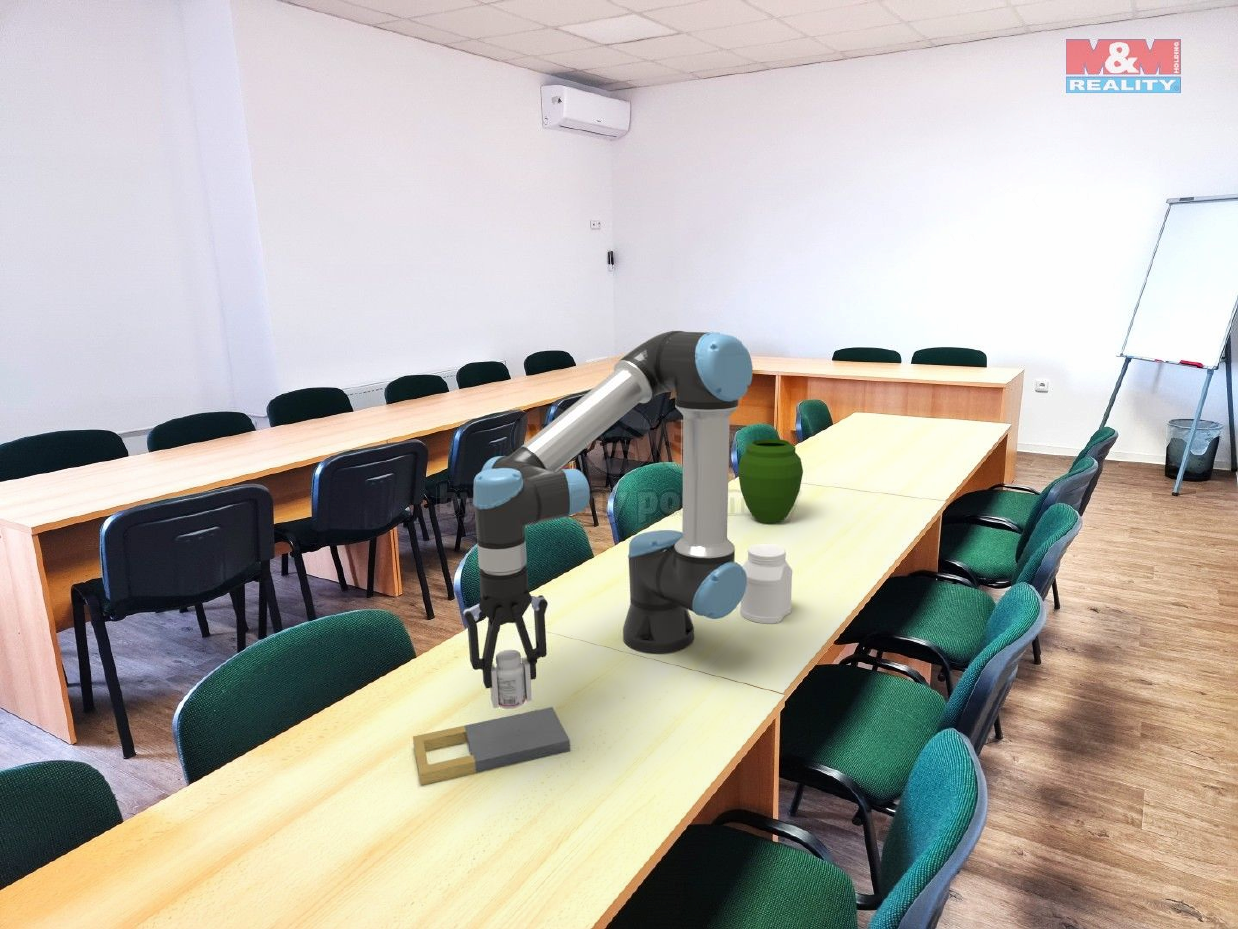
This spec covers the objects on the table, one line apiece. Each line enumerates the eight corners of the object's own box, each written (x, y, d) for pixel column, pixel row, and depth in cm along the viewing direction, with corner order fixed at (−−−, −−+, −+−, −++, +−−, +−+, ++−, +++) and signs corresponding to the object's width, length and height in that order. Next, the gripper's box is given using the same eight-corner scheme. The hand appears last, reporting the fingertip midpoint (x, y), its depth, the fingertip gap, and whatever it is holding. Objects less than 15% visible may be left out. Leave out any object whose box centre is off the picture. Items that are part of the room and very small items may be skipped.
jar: (774, 627, 173) (775, 562, 169) (734, 617, 178) (735, 554, 175) (795, 608, 182) (797, 546, 178) (757, 599, 187) (758, 539, 184)
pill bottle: (511, 691, 134) (509, 645, 132) (531, 700, 131) (529, 653, 129) (490, 703, 131) (487, 656, 129) (510, 712, 128) (507, 664, 126)
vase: (765, 506, 259) (766, 433, 253) (815, 519, 244) (817, 442, 238) (724, 519, 247) (724, 443, 241) (773, 534, 232) (775, 453, 226)
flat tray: (552, 717, 141) (552, 706, 140) (570, 751, 131) (569, 740, 130) (413, 747, 133) (412, 736, 132) (420, 785, 123) (419, 774, 122)
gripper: (551, 551, 132) (557, 679, 137) (442, 567, 126) (453, 700, 132) (563, 566, 125) (569, 700, 130) (449, 583, 119) (460, 723, 125)
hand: (511, 700), depth 131 cm, fingers closed on pill bottle, 5 cm apart
